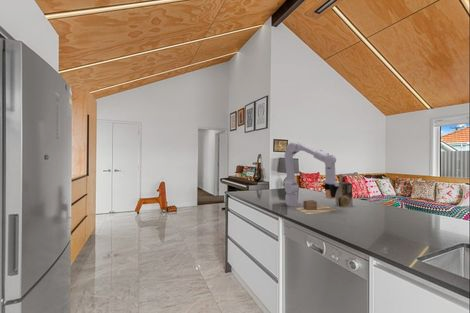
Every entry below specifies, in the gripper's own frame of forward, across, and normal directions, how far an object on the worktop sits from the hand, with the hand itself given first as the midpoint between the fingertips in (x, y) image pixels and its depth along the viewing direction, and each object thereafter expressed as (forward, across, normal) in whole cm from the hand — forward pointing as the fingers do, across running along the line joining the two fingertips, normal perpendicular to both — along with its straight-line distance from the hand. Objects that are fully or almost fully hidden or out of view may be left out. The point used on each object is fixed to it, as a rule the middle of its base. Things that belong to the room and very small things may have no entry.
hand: (330, 196), depth 152 cm
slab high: (+6, +6, +11) cm, 14 cm away
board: (+9, +4, +8) cm, 13 cm away
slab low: (+8, +6, +11) cm, 15 cm away
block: (+1, 0, 0) cm, 1 cm away
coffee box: (+10, +8, -14) cm, 19 cm away
